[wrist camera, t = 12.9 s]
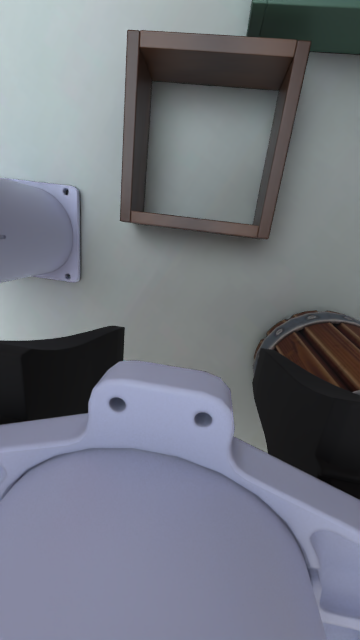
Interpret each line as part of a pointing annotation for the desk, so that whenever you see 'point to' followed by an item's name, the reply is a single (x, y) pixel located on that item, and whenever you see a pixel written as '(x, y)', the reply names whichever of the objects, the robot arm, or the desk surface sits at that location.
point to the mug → (319, 346)
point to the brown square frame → (219, 70)
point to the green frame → (309, 23)
